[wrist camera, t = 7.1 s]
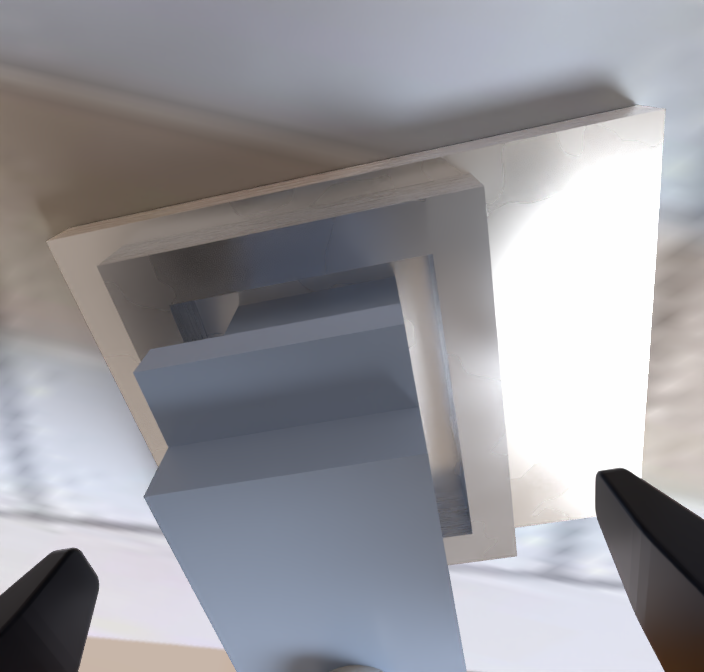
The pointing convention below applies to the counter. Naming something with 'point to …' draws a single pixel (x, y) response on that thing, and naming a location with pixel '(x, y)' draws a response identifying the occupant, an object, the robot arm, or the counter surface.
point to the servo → (305, 487)
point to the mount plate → (433, 300)
